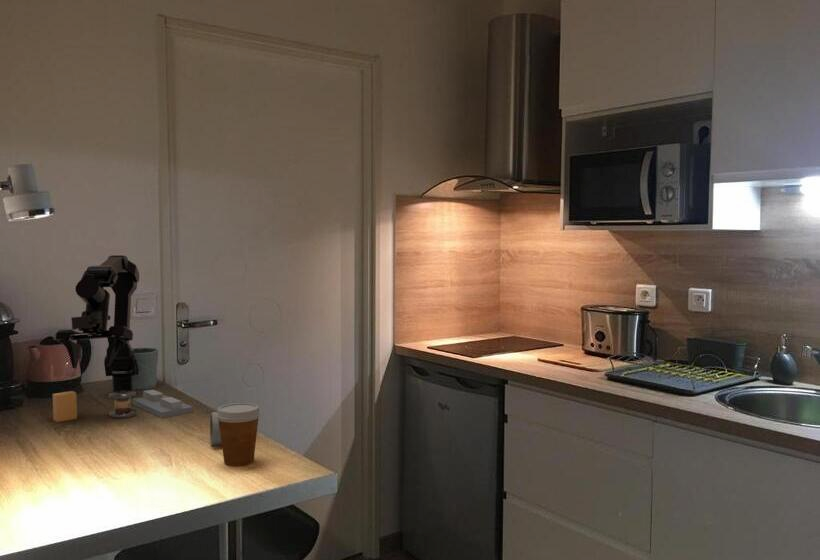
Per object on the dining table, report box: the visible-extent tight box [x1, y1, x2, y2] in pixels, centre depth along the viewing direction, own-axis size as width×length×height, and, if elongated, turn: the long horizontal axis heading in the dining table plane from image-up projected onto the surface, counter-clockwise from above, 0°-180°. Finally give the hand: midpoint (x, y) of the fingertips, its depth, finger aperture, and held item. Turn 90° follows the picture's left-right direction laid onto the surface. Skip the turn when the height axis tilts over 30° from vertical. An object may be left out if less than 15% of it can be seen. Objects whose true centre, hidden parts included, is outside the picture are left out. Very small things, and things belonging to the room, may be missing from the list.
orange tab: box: [52, 390, 78, 423], centre depth 187 cm, size 3×5×7 cm, turn 133°
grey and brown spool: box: [108, 390, 138, 419], centre depth 192 cm, size 7×7×6 cm
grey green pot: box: [131, 347, 159, 390], centre depth 226 cm, size 10×10×12 cm
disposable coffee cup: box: [216, 402, 262, 467], centre depth 153 cm, size 10×10×12 cm
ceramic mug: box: [209, 411, 222, 446], centre depth 168 cm, size 11×8×8 cm
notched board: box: [131, 389, 194, 419], centre depth 199 cm, size 20×9×4 cm, turn 43°
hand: (91, 367), depth 184 cm, fingers open, 9 cm apart
